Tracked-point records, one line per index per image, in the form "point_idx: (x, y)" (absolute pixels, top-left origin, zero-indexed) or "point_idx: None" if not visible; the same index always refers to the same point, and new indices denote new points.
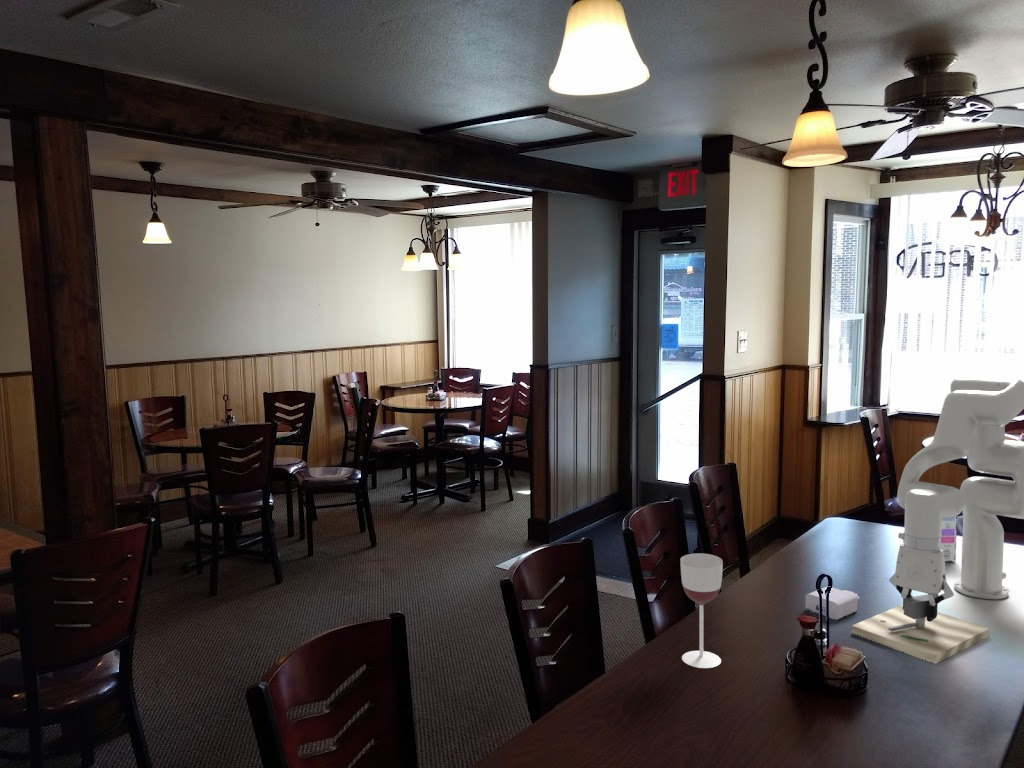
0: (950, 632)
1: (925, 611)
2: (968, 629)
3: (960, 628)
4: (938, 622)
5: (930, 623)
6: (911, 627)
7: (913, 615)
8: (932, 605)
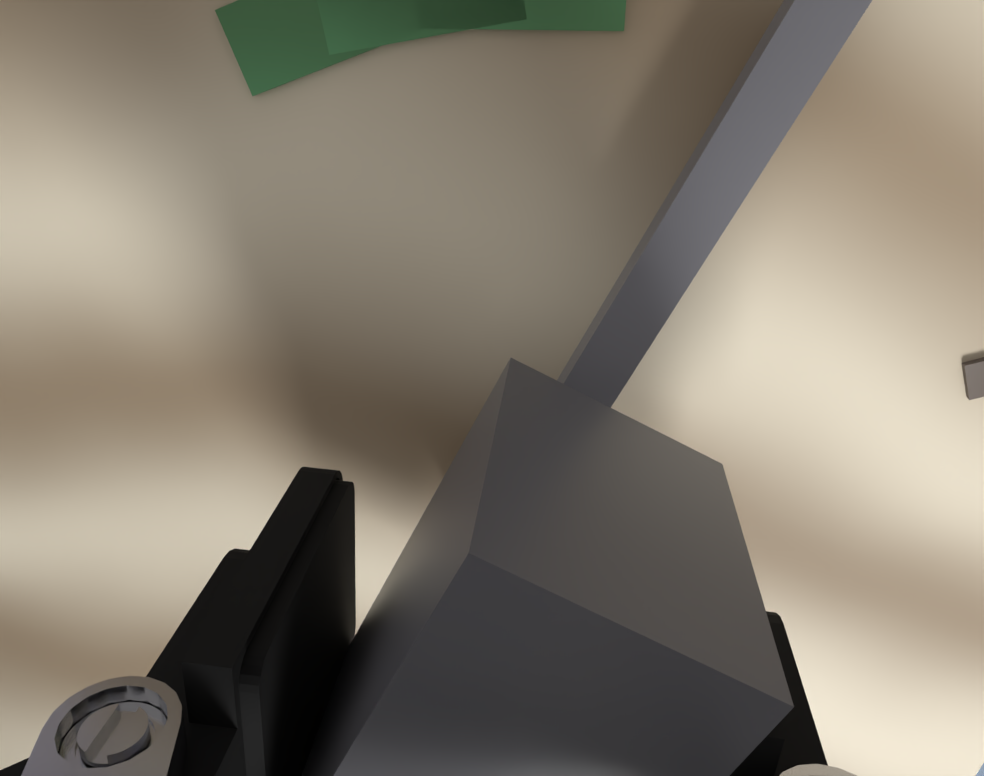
0: (183, 536)
1: (377, 624)
2: None
3: None
4: None
5: None
6: None
7: (513, 390)
8: (138, 685)
